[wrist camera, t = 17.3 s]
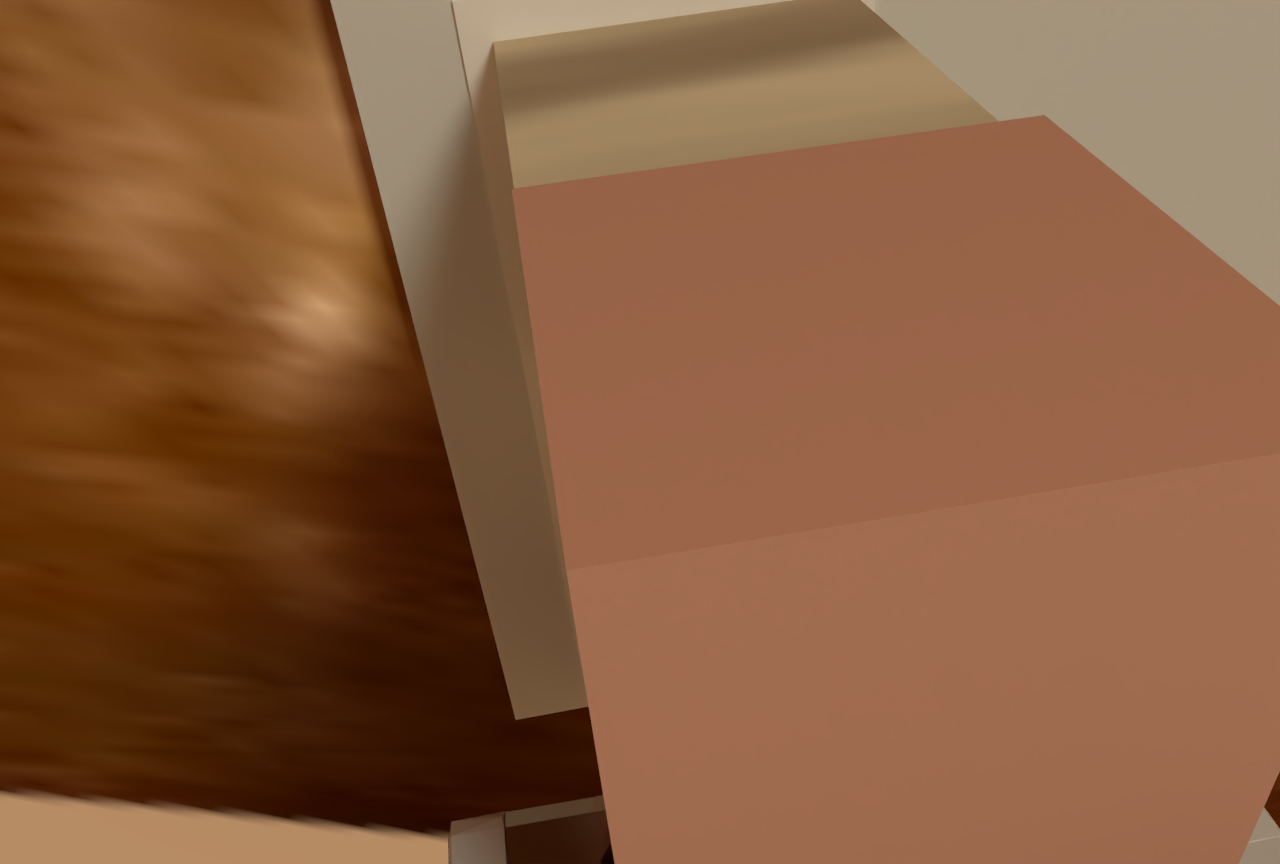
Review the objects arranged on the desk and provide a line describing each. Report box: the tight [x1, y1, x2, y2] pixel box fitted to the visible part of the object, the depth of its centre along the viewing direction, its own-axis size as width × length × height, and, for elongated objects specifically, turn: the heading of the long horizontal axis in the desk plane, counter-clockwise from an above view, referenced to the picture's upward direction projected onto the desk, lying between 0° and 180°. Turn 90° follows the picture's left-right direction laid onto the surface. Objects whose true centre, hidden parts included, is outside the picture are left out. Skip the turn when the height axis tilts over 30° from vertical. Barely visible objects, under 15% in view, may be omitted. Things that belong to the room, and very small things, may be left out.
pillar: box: [493, 0, 998, 188], centre depth 13 cm, size 4×4×5 cm
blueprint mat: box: [330, 0, 1280, 720], centre depth 18 cm, size 14×20×1 cm, turn 96°
